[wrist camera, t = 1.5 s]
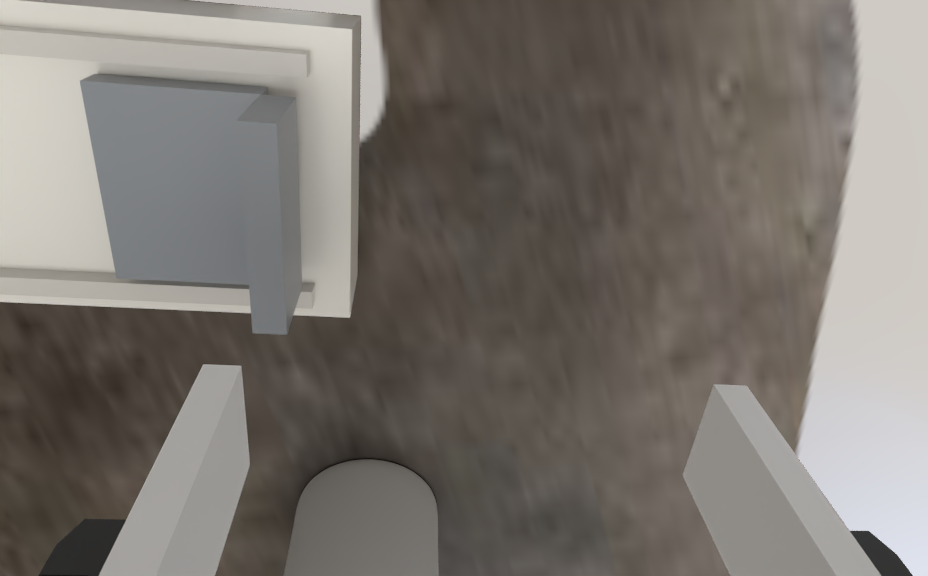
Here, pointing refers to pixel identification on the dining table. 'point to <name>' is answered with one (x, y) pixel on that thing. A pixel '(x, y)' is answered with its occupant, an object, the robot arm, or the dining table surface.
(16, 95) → the cream railed base block
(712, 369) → the dining table surface
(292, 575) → the mug
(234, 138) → the grey l-shaped bracket
